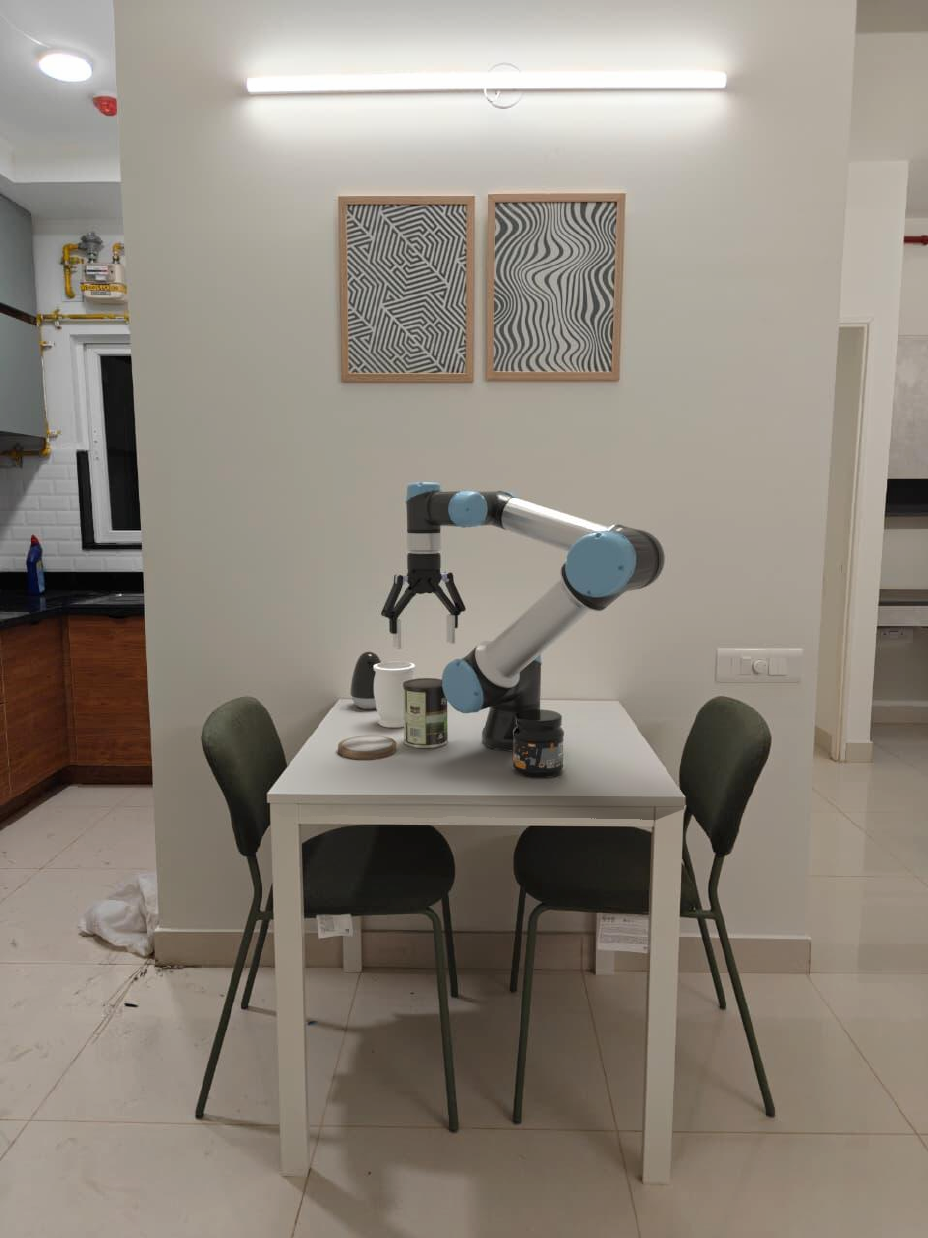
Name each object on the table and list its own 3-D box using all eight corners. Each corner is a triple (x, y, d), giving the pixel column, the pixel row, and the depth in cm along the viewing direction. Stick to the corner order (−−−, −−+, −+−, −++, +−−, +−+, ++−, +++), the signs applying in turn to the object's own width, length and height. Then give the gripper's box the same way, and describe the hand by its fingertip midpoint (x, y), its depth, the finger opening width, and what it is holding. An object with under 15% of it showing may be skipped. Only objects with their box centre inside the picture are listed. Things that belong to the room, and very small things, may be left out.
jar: (414, 730, 199) (413, 669, 197) (371, 729, 199) (370, 669, 197) (417, 718, 210) (416, 660, 207) (377, 718, 210) (376, 660, 208)
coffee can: (448, 735, 195) (448, 677, 192) (447, 748, 184) (447, 687, 182) (405, 735, 195) (404, 677, 193) (401, 748, 184) (400, 687, 182)
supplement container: (507, 764, 174) (507, 709, 172) (554, 761, 176) (555, 707, 174) (519, 781, 163) (520, 723, 162) (570, 777, 165) (571, 720, 164)
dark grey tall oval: (352, 713, 215) (350, 656, 212) (349, 703, 225) (348, 648, 223) (390, 710, 217) (389, 654, 214) (386, 701, 227) (385, 647, 225)
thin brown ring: (408, 751, 182) (407, 744, 182) (358, 763, 174) (357, 756, 174) (376, 738, 192) (376, 731, 192) (327, 749, 184) (327, 741, 184)
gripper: (464, 549, 192) (464, 638, 195) (365, 552, 180) (367, 647, 183) (480, 551, 186) (480, 643, 189) (379, 555, 174) (380, 653, 177)
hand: (424, 645), depth 186 cm, fingers open, 13 cm apart
